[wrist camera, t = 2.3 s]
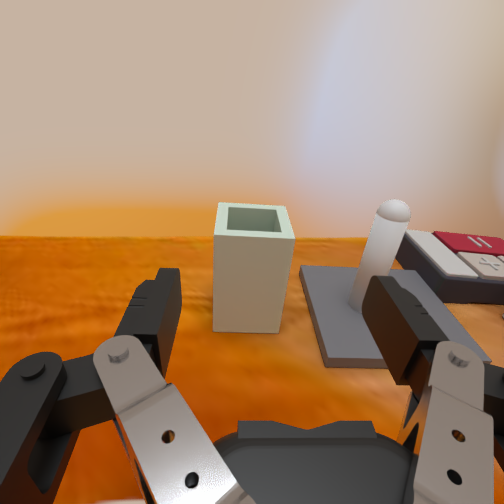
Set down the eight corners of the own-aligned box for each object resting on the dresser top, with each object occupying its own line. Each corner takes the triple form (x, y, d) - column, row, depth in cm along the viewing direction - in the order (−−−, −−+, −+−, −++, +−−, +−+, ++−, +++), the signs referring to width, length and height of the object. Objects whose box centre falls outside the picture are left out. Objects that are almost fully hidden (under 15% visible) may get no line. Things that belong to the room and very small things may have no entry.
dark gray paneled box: (576, 284, 32) (448, 272, 31) (550, 313, 35) (429, 303, 33) (501, 234, 42) (399, 224, 40) (485, 260, 44) (388, 251, 42)
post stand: (325, 367, 25) (366, 237, 18) (298, 273, 36) (319, 171, 29) (484, 370, 26) (578, 248, 19) (411, 278, 37) (455, 180, 30)
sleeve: (212, 331, 27) (213, 234, 22) (217, 289, 32) (218, 202, 27) (278, 333, 27) (295, 238, 22) (272, 291, 33) (285, 206, 27)
